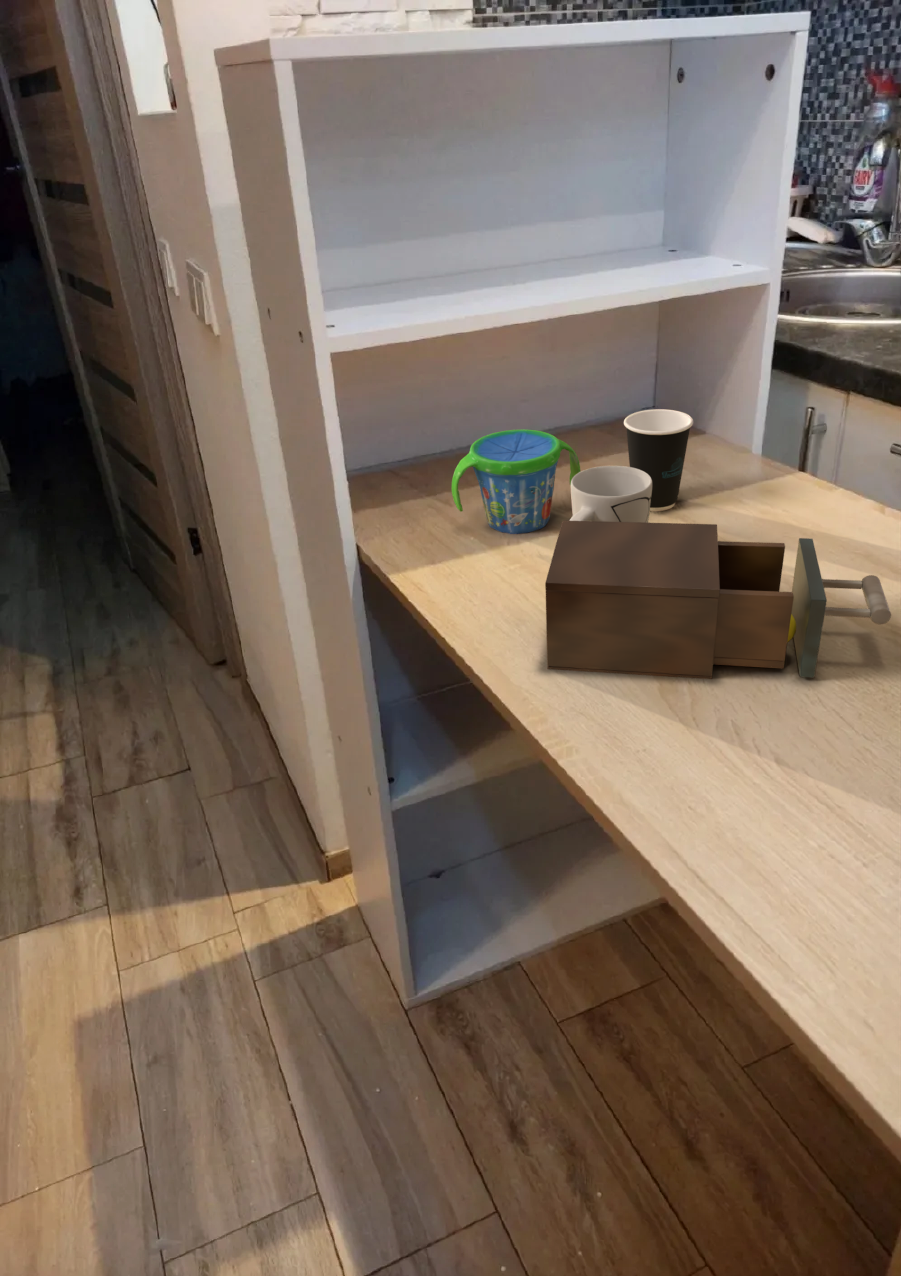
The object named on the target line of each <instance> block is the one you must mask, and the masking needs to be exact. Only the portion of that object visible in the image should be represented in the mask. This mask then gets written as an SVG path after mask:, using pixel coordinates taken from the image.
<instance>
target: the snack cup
mask: <svg viewBox="0 0 901 1276" xmlns="http://www.w3.org/2000/svg"><path fill="white" fill-rule="evenodd" d="M563 450H566V451H568V457H569V471H570V474H569V486H570V487H571V481H572V478H573V477H574V476H575V475H576V474H578V473H579V472H581V471H582V470H581V465H580V459H579V457H578V455H577V453H576V451H575V450H574V449H573V448H572V446H570V445H569V444H568V443H566V442H565V441H563V440H562V439H559V438H557V437H556V436H554V435H553V434H551V433H548V432H545V431H541V430H535V429H509V430H502V431H498V432H497V431H496V432H492V433H489V434H487V435H486V434H485V435H484V436H481V437H480V438H477V439H476V440H475V441H474V442H473V443H472V444H471V445H470V448H469V452H468V453H467V454H466V455H465V456H464V457H462V459H460V460H459V461H458V464H457V466H456V468H454V471H453V475H452V479H451V496H452V499H453V502H454V504H455V507H456V508H457V510H458V511H459V512H460V513H462V512H464V509H463V505H462V502H461V494H460V491H459V483H460V479H461V478H462V477H463V475H464V474H465V473H466V471H468V469H469V468H471V467H472V468H473V469H472V470H473V471H474V474H475V477H476V478H477V483H478V486H479V491H480V496H481V499H482V504H483V509H484V513H485V518H486V521H487V524H488V525H489V528H491V529H493V530H495V531H497V532H500V533H504V534H510V535H521V534H528V533H533V532H535V531H538V530H542V529H543V528H544V527H546V525H547V524H548V522H550V518H551V511H552V504H553V495H554V490H555V482H556V481H555V480H556V472H557V471H556V470H557V466H558V462H559V460H560V457H561V452H562V451H563Z"/></svg>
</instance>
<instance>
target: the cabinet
mask: <svg viewBox="0 0 901 1276" xmlns="http://www.w3.org/2000/svg"><path fill="white" fill-rule="evenodd" d="M718 533H719V532H718V524H717V523H681V522H680V523H678V522H648V523H643V522H604V521H569V520H561V524H560V529H559V531H558V535H557V538H556V542H555V547H554V550H553V553H552V557H551V561H550V563H549V567H548V570H547V571H548V572H547V575H546V579H545V583H544V584H545V587H544V588H545V623H546V624H545V626H546V629H545V630H546V665H547V670H551V671H552V670H553V671H555V670H556V671H571V672H587V673H600V674H601V673H602V674H603V673H604V674H620V675H634V676H635V675H636V676H653V677H666V678H668V677H669V678H683V679H684V678H685V679H700V680H701V679H702V680H712V679H713V671H714V670H713V669H714V664H713V660H714V649H715V638H716V627H717V615H718V604H719V594H720V582H719V558H718V541H719V537H718V536H719V535H718Z"/></svg>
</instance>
